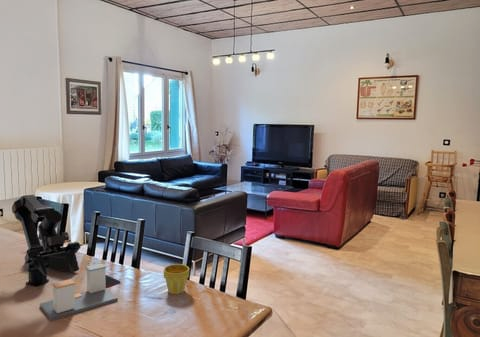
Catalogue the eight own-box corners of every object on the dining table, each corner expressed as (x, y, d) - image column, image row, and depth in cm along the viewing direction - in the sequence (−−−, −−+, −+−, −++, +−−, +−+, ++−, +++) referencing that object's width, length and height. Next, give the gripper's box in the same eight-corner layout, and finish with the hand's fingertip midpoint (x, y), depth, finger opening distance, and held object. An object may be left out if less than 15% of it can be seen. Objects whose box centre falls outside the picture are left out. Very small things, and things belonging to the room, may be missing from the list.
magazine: (83, 254, 170) (36, 227, 180) (77, 256, 167) (30, 228, 177) (75, 286, 173) (30, 258, 183) (69, 289, 170) (24, 260, 180)
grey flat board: (40, 306, 138) (40, 302, 138) (103, 289, 155) (103, 285, 155) (51, 320, 129) (51, 316, 129) (117, 300, 145) (117, 296, 145)
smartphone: (101, 272, 171) (121, 281, 162) (101, 274, 171) (121, 283, 162) (86, 277, 165) (106, 286, 156) (86, 279, 165) (106, 288, 156)
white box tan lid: (52, 309, 134) (52, 283, 133) (71, 303, 138) (70, 278, 137) (56, 313, 131) (56, 287, 130) (75, 308, 135) (75, 282, 134)
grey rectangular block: (86, 289, 150) (85, 266, 149) (101, 285, 155) (101, 263, 154) (90, 293, 147) (90, 270, 146) (106, 289, 152) (106, 266, 151)
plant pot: (182, 298, 149) (182, 274, 148) (158, 294, 152) (159, 271, 151) (192, 288, 159) (193, 265, 158) (170, 284, 162) (171, 262, 161)
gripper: (27, 230, 135) (37, 269, 129) (79, 222, 148) (90, 257, 142) (20, 243, 142) (29, 282, 136) (70, 235, 155) (81, 270, 149)
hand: (59, 272), depth 140 cm, fingers open, 9 cm apart
